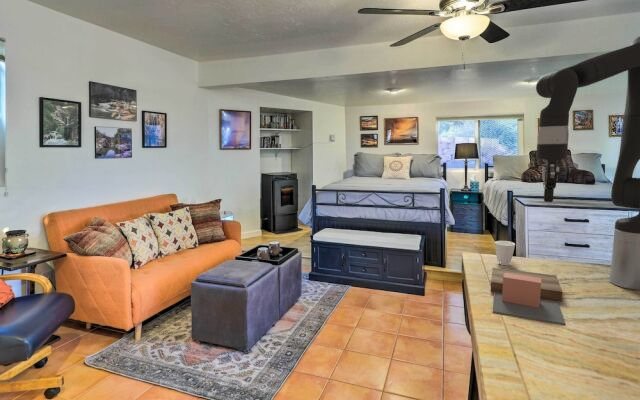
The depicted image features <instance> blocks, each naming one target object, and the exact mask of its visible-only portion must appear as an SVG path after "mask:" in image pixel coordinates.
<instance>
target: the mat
mask: <svg viewBox="0 0 640 400" xmlns="http://www.w3.org/2000/svg"><path fill="white" fill-rule="evenodd" d="M492 304H493V305H492V313H493V314H498V315H504V316H509V317H516V318H517V317H518V318H522V319H528V320H534V321H539V322H544V323H549V324H550V323H551V324H556V325H563V326H566V321H565V318H564V315H563V312H562V309H561V306H560V303H559V301H553V300H546V299H540V306H539V308H537V307H532V306H527V305H522V304H516V303H511V302H506V301H502V293H499V292H493V301H492Z"/></svg>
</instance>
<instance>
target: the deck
mask: <svg viewBox="0 0 640 400" xmlns="http://www.w3.org/2000/svg"><path fill="white" fill-rule="evenodd" d="M504 273H510V274H517V275H523V276H530V277H537V278H541V292H540V299H546V300H553V301H558V303H559V302H563V289H562V286H561V284H560V282H559V278H558V277H557V275H556V274H547V273H539V272H530V271H523V270H517V269H515V270H514V269H508V268H507V269H506V268H499V267H498V268H497V267H492V268H491V281H490V292H492V293H494V292H499V293H502V291H503V276H504Z"/></svg>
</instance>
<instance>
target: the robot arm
mask: <svg viewBox="0 0 640 400" xmlns="http://www.w3.org/2000/svg"><path fill="white" fill-rule="evenodd" d="M624 72H627V82H626V83H627V87H626V96H625V97H626V98H625V107H624V113H623V118H622V126H621V127H622V128H621V136H620V146H619V147H620V148H619V152H618V153H619V154H618V160H617V164H616V167H615V172H614V177H613V180H612V186H611V192H610V193H611V195H610V196H611V197H610V198H611V202H612V204H613V205H614V206H615V207H621V208H629V209H638V210H639V212H638V214H637V215H635V216H630V217H624V218H619V219H616V220H615V223H614V232H613V233H614V234H613V243H612V251H611V252H612V253H611V261H610V262H611V264H610V273H609V282H610V283H611V284H612V285H614V286H618V287H619V288H620V287H621V288H624V289H629V290H639V291H640V177H633V174H634V171H635V169H636V166H637V165H638V162H639V161H640V35H639V36H637V37H636V38H635V39H634V40H633V41H632V42H631V43H630V45H628V46H626V47H622V48H619V49H615V50H612V51H608V52H605V53H602V54H600V55H599V54H598V55H595V56H593V57H591V58H588V59H585V60H582V61H580V62H578V63H576V64H573V65H571V66H568V67H565V68H562V69H558V70H555V71H551V72H548V73H545V74H544V75H542V76H540V78H539V79H538V80H537V82H536V85H535V91H536V93H537V94H538V96H540V97H542V98H544V99H545V98H546V99H549V103H548V104H547V105H546V106H544V107H542V108H541V110H540V113H539V124H538V127H539V128H538V132H537V142H536V156H535V157H536V159H537V160H545V162H544V163H545V164H543V165H541V166H542V167H541V171H542V185H543V189H544V191H543V201H544V202H546V203H552V202H553V201H554V190H555V188H556V187H557V182H558V175H559V172H560V165H558V164H557V163H558V160H566V159H567V158H568V151H569V150H568V149H569V138H570V136H569V135H570V134H569V132H570V131H569V124H570V123H569V122H570V110H571V107H572V106H573V103H574V99H575V97H576V94H577V92H578V89H579V88H583V87H588V86H591V85H593V84H596V83H598V82H601V81H604V80H606V79H609V78H611V77H614V76H616V75H619V74H622V73H624Z"/></svg>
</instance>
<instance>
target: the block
mask: <svg viewBox="0 0 640 400" xmlns="http://www.w3.org/2000/svg"><path fill="white" fill-rule="evenodd" d="M540 292H541V278H537V277H530V276H523V275H517V274H510V273H504V276H503V291H502V301H506V302H511V303H516V304H522V305H527V306H532V307H537V308H539V306H540Z"/></svg>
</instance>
